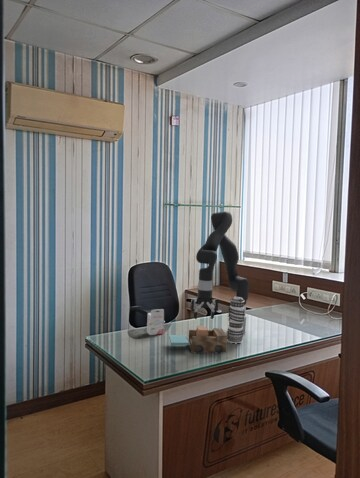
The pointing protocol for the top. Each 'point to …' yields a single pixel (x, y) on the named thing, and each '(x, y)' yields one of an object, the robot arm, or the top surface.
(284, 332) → the top surface
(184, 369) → the top surface
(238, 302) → the patterned ribbed cylinder
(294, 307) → the top surface
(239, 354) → the top surface
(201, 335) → the tapered tan wedge
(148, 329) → the ink cartridge box
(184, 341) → the tailgate
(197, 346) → the truck bed
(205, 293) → the robot arm
